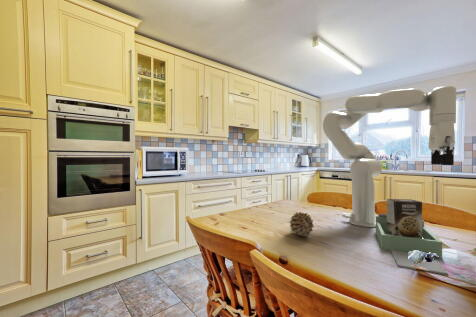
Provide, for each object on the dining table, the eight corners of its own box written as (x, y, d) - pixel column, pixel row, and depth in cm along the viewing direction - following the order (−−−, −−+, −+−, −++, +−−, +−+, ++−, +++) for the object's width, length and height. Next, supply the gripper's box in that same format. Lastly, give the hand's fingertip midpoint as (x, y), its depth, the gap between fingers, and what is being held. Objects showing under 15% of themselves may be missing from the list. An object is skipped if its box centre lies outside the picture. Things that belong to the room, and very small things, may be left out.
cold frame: (381, 249, 77) (381, 225, 77) (375, 232, 95) (375, 213, 95) (442, 258, 70) (441, 231, 70) (423, 238, 88) (423, 217, 88)
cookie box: (395, 246, 80) (395, 201, 80) (386, 239, 86) (385, 198, 86) (423, 247, 78) (423, 201, 79) (411, 240, 85) (411, 198, 85)
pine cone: (318, 242, 83) (318, 216, 83) (292, 242, 84) (292, 215, 84) (305, 225, 105) (305, 204, 105) (284, 225, 106) (284, 204, 106)
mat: (397, 266, 64) (397, 264, 64) (391, 251, 75) (391, 249, 75) (448, 275, 59) (448, 273, 59) (433, 257, 70) (433, 256, 70)
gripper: (422, 123, 94) (421, 164, 94) (439, 116, 79) (438, 165, 79) (444, 122, 91) (444, 164, 91) (467, 115, 76) (466, 165, 76)
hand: (441, 164), depth 85 cm, fingers open, 9 cm apart
